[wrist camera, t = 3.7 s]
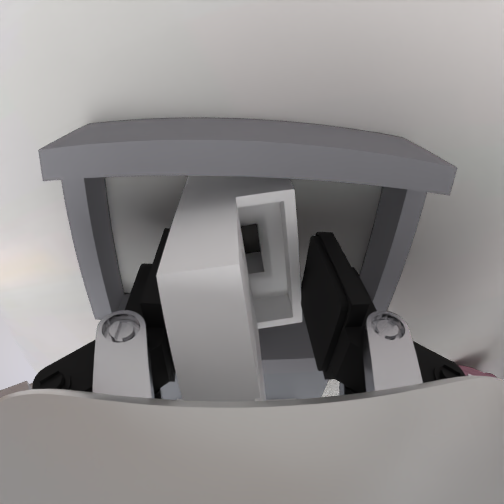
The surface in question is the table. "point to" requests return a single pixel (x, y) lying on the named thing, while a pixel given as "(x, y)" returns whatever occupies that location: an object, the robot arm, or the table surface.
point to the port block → (273, 386)
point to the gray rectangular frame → (246, 165)
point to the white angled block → (228, 282)
